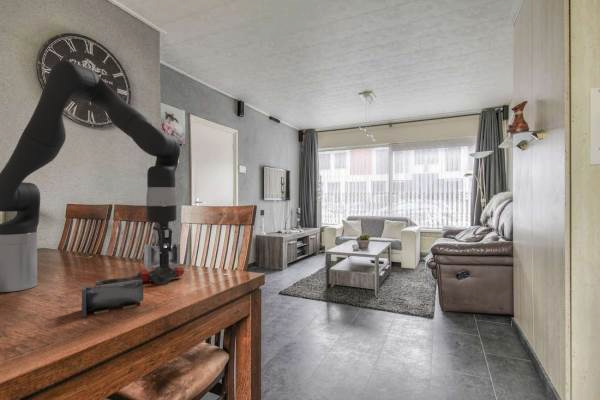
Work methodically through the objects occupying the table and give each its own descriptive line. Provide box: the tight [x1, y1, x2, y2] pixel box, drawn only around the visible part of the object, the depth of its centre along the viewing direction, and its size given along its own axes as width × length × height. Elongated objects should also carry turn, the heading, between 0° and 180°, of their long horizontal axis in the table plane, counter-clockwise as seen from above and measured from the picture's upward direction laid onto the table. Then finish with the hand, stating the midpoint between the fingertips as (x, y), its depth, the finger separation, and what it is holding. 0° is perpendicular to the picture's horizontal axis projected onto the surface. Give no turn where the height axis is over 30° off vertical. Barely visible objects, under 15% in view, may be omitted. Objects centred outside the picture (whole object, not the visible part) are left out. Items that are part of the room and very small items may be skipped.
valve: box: [95, 265, 185, 286], centre depth 101 cm, size 6×26×15 cm
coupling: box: [143, 241, 181, 271], centre depth 81 cm, size 8×6×6 cm
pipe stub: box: [81, 280, 144, 318], centre depth 75 cm, size 13×6×6 cm, turn 125°
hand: (162, 265), depth 81 cm, fingers closed on coupling, 5 cm apart
